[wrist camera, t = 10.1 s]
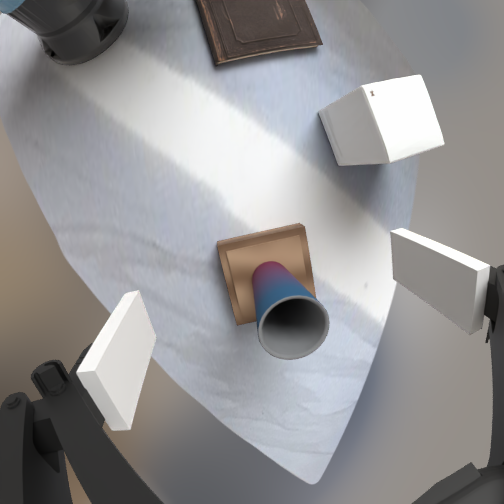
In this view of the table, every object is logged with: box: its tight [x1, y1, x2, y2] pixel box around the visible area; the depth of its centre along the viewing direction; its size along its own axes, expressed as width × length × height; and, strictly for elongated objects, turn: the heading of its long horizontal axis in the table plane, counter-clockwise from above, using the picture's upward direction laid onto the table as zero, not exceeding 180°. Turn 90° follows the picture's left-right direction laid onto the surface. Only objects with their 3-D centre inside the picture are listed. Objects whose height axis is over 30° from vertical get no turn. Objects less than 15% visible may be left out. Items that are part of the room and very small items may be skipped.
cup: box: [252, 261, 329, 360], centre depth 35 cm, size 7×7×15 cm
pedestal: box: [217, 223, 316, 325], centre depth 44 cm, size 12×12×3 cm
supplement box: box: [318, 75, 444, 166], centre depth 35 cm, size 9×9×15 cm
